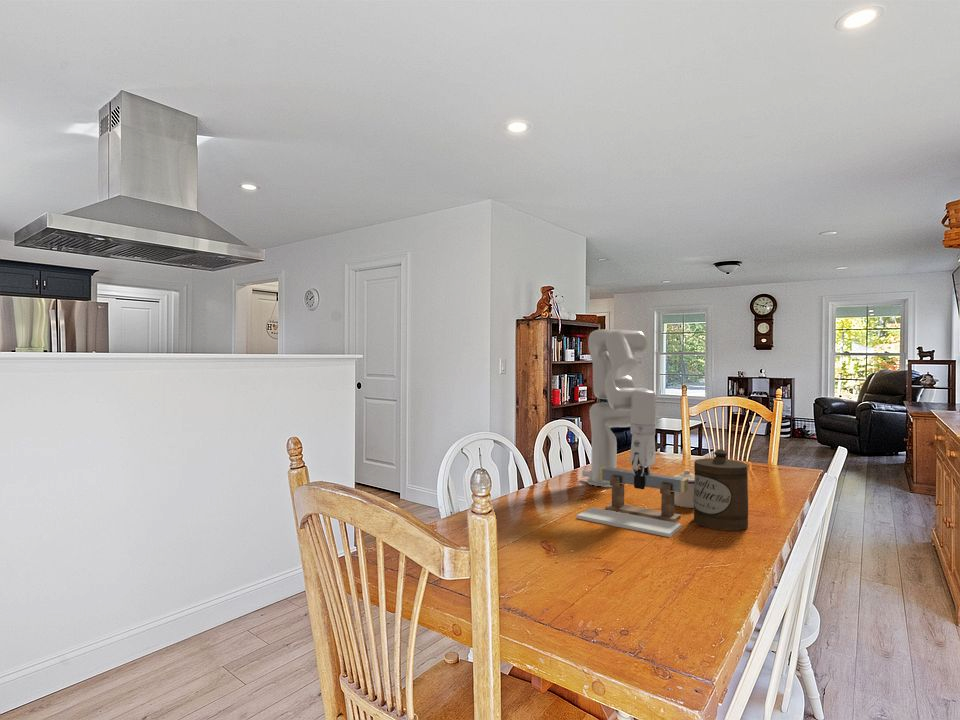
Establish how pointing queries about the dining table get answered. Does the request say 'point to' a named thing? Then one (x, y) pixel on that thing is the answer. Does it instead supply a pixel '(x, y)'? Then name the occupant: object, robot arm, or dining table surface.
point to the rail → (650, 479)
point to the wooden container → (721, 493)
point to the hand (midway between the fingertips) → (641, 486)
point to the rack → (664, 514)
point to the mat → (630, 521)
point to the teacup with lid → (688, 496)
